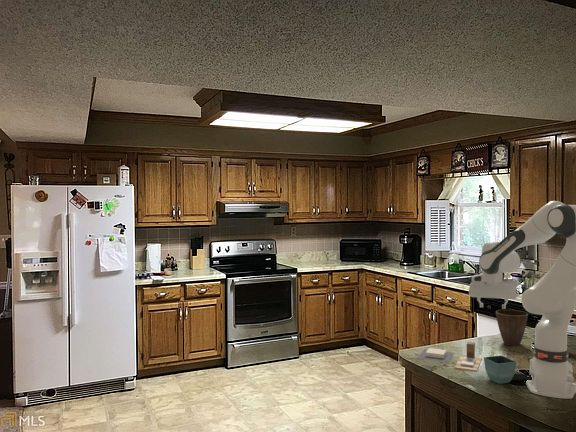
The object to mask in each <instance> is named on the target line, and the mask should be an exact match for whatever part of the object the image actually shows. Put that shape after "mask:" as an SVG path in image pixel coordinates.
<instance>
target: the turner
mask: <svg viewBox="0 0 576 432" xmlns="http://www.w3.org/2000/svg"><path fill="white" fill-rule="evenodd" d="M475 349H476V342H475V341H467V342H466V355H467V357H464V359H463V360H462V362H461V366H466V367H473V366H474V364H475V362H476V358H475V357H476V352H475V351H476V350H475Z"/></svg>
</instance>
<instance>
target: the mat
mask: <svg viewBox="0 0 576 432" xmlns="http://www.w3.org/2000/svg"><path fill="white" fill-rule="evenodd" d="M428 349H429V348H425V349H423V350H422V352H421V353H420V354H419V355H418V357H417V359H420V360H421V359H422V360H428V361H437V362H443V363H450V361H451V360H452V358H453V357H454V355H455V352H449V351H447V355H446V356H445V358H444V359H440V358H432V357H426V351H427V350H428Z"/></svg>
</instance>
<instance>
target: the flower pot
mask: <svg viewBox="0 0 576 432" xmlns="http://www.w3.org/2000/svg"><path fill="white" fill-rule="evenodd" d="M483 362H484V363H483V364H484V368H485V372H486V374H487V377H488V378H489V380H490V381H493V382H494V383H495V384H499V385H501V384H503V385H504V384H509V383H510V382H511V381H512V379H513V378H514V375H515V371H516V368H517V367H516V366H517V361H516V360H513V359H511V358H508V357H506V356H504V355H493V356H485V357H484V356H483Z"/></svg>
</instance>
